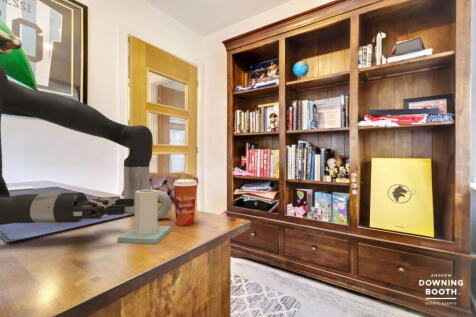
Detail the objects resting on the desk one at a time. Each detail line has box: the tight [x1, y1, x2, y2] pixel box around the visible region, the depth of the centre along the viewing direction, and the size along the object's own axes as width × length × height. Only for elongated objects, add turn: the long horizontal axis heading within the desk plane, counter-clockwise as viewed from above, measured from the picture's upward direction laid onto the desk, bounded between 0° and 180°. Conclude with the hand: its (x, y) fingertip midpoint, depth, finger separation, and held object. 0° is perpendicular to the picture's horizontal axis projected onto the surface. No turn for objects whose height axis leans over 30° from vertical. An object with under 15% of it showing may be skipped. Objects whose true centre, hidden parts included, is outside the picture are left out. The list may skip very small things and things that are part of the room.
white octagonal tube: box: [134, 189, 159, 235], centre depth 60 cm, size 5×5×11 cm
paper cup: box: [173, 178, 199, 227], centre depth 71 cm, size 8×8×14 cm
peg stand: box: [116, 225, 172, 245], centre depth 60 cm, size 10×10×8 cm
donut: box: [157, 189, 172, 220], centre depth 75 cm, size 10×4×10 cm, turn 97°
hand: (129, 205), depth 59 cm, fingers open, 8 cm apart
